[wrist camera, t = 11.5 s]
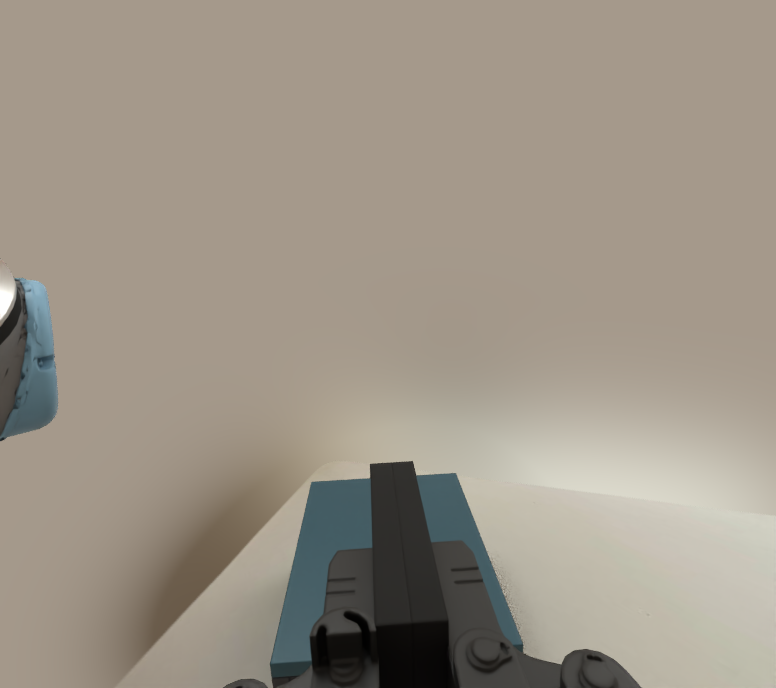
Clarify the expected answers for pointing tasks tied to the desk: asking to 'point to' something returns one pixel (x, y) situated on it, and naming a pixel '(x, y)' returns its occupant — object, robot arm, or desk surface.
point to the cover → (354, 531)
